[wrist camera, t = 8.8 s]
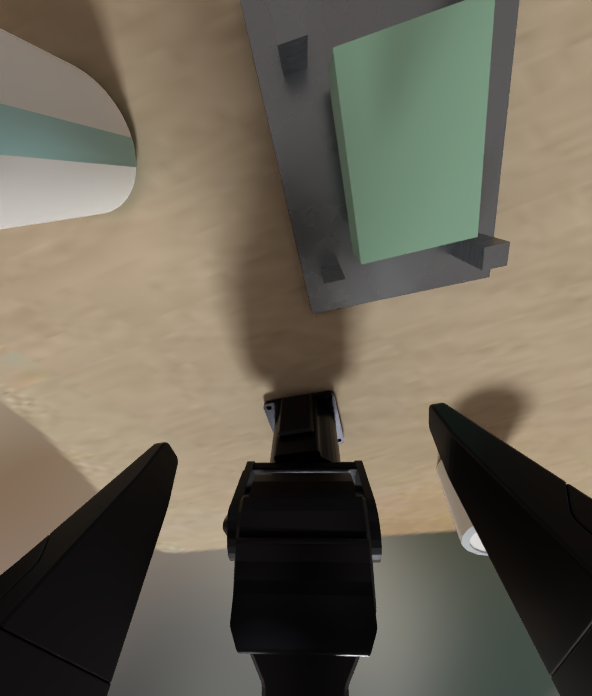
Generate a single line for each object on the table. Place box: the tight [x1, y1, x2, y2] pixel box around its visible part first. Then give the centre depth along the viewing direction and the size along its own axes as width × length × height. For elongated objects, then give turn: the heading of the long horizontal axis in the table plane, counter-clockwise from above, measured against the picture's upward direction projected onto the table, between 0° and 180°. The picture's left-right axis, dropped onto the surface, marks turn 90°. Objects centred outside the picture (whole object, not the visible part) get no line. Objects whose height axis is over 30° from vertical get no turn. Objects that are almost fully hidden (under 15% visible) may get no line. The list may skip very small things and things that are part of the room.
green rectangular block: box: [328, 0, 495, 265], centre depth 13 cm, size 8×6×3 cm
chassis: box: [240, 0, 519, 314], centre depth 14 cm, size 16×12×4 cm
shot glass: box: [437, 460, 488, 556], centre depth 26 cm, size 7×7×7 cm
